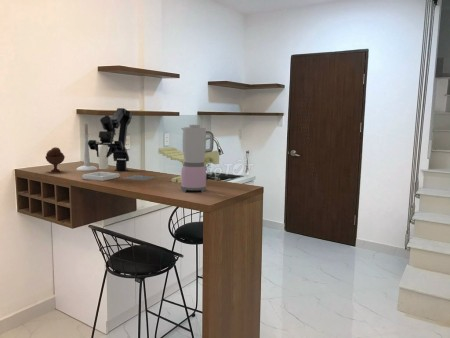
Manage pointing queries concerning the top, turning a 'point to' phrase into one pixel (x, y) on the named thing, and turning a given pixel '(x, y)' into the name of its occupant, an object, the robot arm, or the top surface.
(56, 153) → the ice cream bowl
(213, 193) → the top surface
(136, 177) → the rubber mat
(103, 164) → the rolled placemat
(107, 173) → the grey tray
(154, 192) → the top surface
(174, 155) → the slatted curved stool
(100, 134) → the robot arm
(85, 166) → the candlestick
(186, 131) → the blender
